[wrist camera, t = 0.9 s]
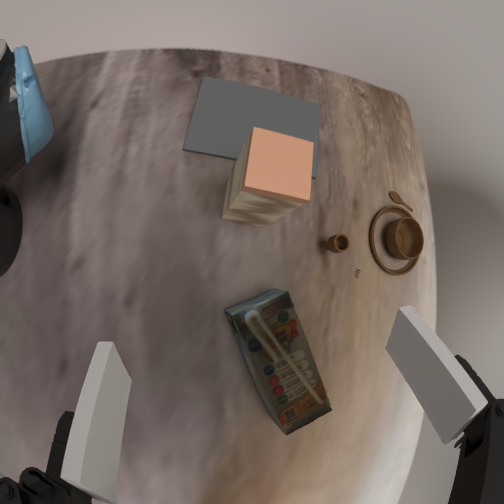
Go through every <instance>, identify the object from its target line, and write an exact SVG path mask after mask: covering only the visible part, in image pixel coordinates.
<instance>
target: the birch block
mask: <svg viewBox="0 0 504 504" xmlns="http://www.w3.org/2000/svg"><path fill="white" fill-rule="evenodd" d="M313 145H314V143H313V142H309V141H306V140H303V139H299V138H296V137H292V136H288V135H285V134H281V133H277V132H273V131H269V130H265V129H261V128H257V127H253V129H252V131H251V133H250V135H249V137H248V139H247V141H246V143H245V145H244V147H243V149H242V151H241V153H240V155H239V157H238V159H237V161H236V163H235V165H234V167H233V169H232V171H231V173H230V175H229V177H228V181H227V187H226V193H225V199H224V205H223V211H222V217H221V220H225V221H230V222H236V223H242V224H247V225H253V226H258V227H266V226H267V225H269V224H271V223H272V222H274V221H276V220H277V219H279V218H281V217H282V216H284V215H286V214H287V213H289V212H291V211H292V210H294V209H296V208H297V207H299V206H301V205H302V204H304V203H306V202H308V201H309V200H310V189H311V176H312V161H313Z"/></svg>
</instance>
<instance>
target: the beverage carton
mask: <svg viewBox="0 0 504 504" xmlns="http://www.w3.org/2000/svg"><path fill="white" fill-rule="evenodd" d="M224 312H225V314H226V316H227V319H228V322H229V324H230V326H231V328H232V330H233V333H234V335H235V337H236V340H237V342H238V345H239V347H240V349H241V352H242V354H243V357H244V359H245V362H246V364H247V366H248V369H249V371H250V373H251V376H252V378H253V380H254V383H255V385H256V387H257V389H258V391H259V394H260V396H261V398H262V400H263V402H264V404H265V406H266V408H267V410H268V412H269V414H270V416H271V418H272V419H273V421H274V422H275V423H276V424H277V426H278V427H279V428H280V429H281V431H282V432H283V433H284V434H285V435H288V434H290V433H292V432H294V431H295V430H297V429H299V428H301V427H303V426H305V425H307V424H309V423H311V422H313V421H314V420H316V419H317V418H319V417H321V416H323V415H325V414H326V413H328V412H330V411H332V409H331V407H330V403H329V399H328V397H327V394H326V391H325V388H324V385H323V383H322V380H321V377H320V374H319V372H318V369H317V366H316V364H315V361H314V358H313V355H312V353H311V350H310V347H309V345H308V342H307V339H306V337H305V334H304V331H303V329H302V326H301V324H300V321H299V319H298V316H297V314H296V312H295V310H294V305H293V303H292V301H291V298H290V295H289V292H288V291H285V290H277V289H275V290H270V291H268V292H266V293H264V294H262V295H259V296H257V297H255V298H252V299H250V300H247V301H245V302H242V303H240V304H238V305H235V306H232V307H230V308H227V309H225V310H224Z"/></svg>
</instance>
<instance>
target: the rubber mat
mask: <svg viewBox="0 0 504 504" xmlns="http://www.w3.org/2000/svg"><path fill="white" fill-rule="evenodd" d="M319 116H320V106H319V105H316V104H313V103H310V102H307V101H304V100H301V99H298V98H295V97H291V96H288V95H285V94H281V93H278V92H274V91H270V90H266V89H263V88H259V87H255V86H250V85H246V84H242V83H237V82H233V81H228V80H223V79H217V78H212V77H206V76H204V77H203V80H202V83H201V87H200V90H199V93H198V97H197V100H196V103H195V107H194V110H193V114H192V117H191V121H190V125H189V128H188V132H187V136H186V140H185V144H184V148H183V151H188V152H194V153H200V154H206V155H211V156H216V157H222V158H227V159H232V160H237V159H238V157H239V155H240V153H241V151H242V149H243V147H244V145H245V143H246V141H247V139H248V137H249V135H250V133H251V131H252V129H253V127H257V128H261V129H265V130H269V131H273V132H277V133H281V134H285V135H288V136H292V137H296V138H299V139H303V140H306V141H309V142H313V143H314V145H313V161H312V176H311V178H313V179H315V178H316V176H317V160H318V141H319Z"/></svg>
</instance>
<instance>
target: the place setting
mask: <svg viewBox="0 0 504 504" xmlns="http://www.w3.org/2000/svg"><path fill="white" fill-rule="evenodd" d="M390 196H391V198H392V200H393V201H394V202H396V203H398V204H403V205H404V206H405V207H407V208H408V209H409V210H410V211H411V212H413V209H411V208H410V207H409V206H408V205H406V204H405V203H404V202H403V201H402V200H401V198H400V196H399V195H398V194H397V193H396V192H393V191H392V192H390ZM387 212H394V213H397V214H399V215H400V216H402V217H403V218H400V219H397V220H395V221H393V222H392V223H391V224H390V225H389V227H388V229H387V232H386V244H387V247H388V250H389V251H390V253H391V254H392V255H393V256H394V257H395V258H397V259H401V260H409V259H410V260H409V262H408V263H407V265H406V266H405V267H403V268H401V269H399V270H391V269H388V268H386V267H385V266H384V265H383V264H382V262H381V261H380V259H379V257H378V255H377V252H376V249H375V245H374V228H375V224H376V221H377V219H378V218H379V217H380V216H381V215H382V214H384V213H387ZM349 244H350V243H349V239H348V237H347V236H346V235H345V234H337V235H334V236H332V237H330V238H329V239H328V241H327V242H326V243H321V244H320V249H321V250H323V251H325V250H328V249H329V250H330V251H331V252H334V253H340V252H344V251H346V250H347V249H348V248H349ZM423 244H424V238H423V232H422V229H421V227H420V225H419V224H418V222H417V221H416V220H415V219H413V217H412V216H411V215H410V214H409V213H408V212H407V211H406V210H405V209H403V208H401V207H399V206H388V207H385V208H383V209H382V210H381V211H379V212H378V213H377V215H376V216H375V218H374V220H373V222H372V225H371V229H370V245H371V250H372V253H373V256H374V258H375V260H376V261H377V263H378V264H379V266H380V267H381V268H382V269H383V270H385V271H386V272H388V273H390V274H393V275H403V274H406V273H408V272H409V271H411V270H412V269H413V268H414V266H415V265H416V263H417V261H418V258H419V255H420V253H421V251H422V249H423ZM357 270H358V269H357ZM358 271H360V270H358ZM356 272H357V271H356ZM360 272H361V271H360ZM357 273H359V272H357ZM355 274H356V273H355ZM359 274H360V273H359ZM356 275H358V274H356ZM358 276H359V275H358ZM355 277H357V276H355ZM357 278H358V277H357Z"/></svg>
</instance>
